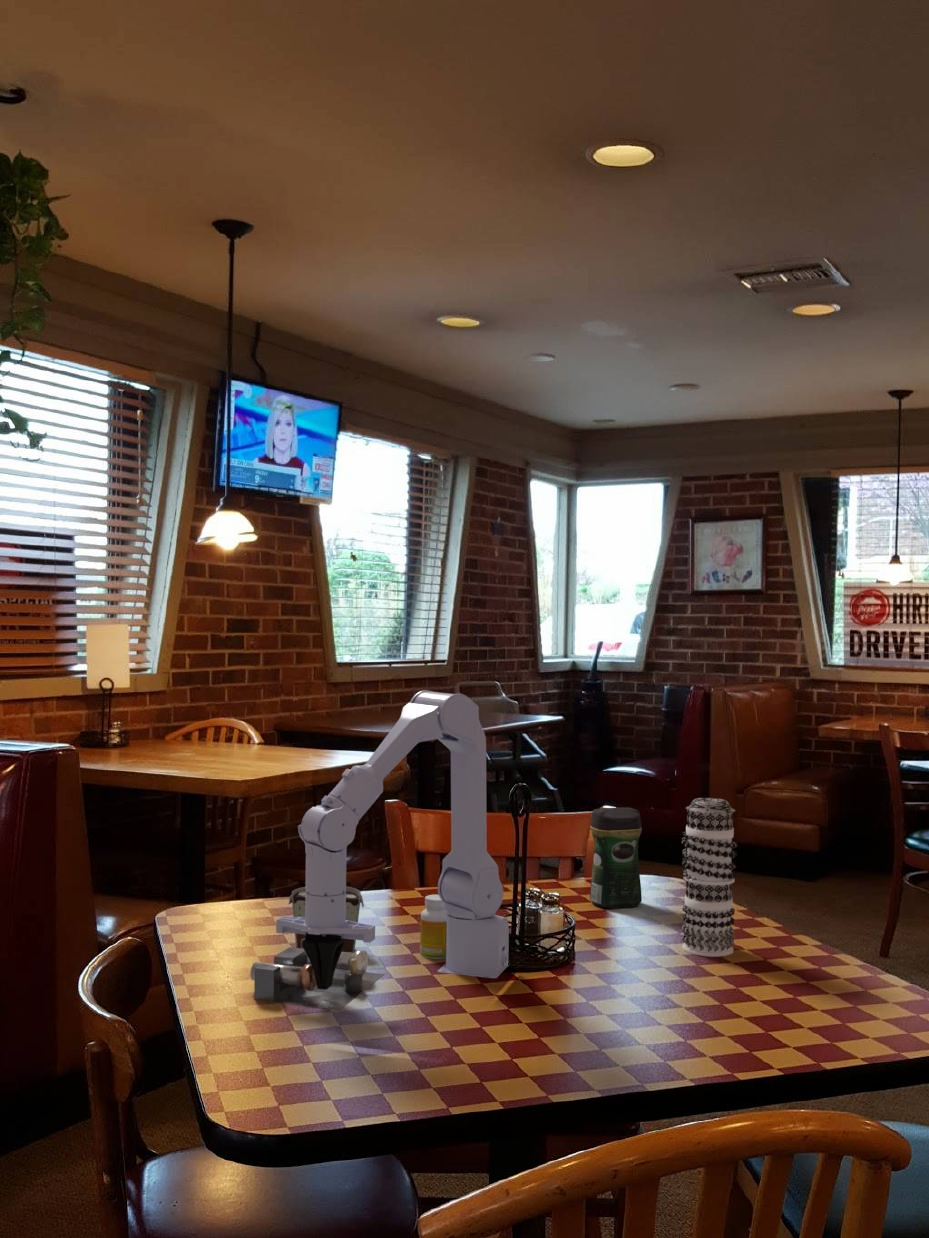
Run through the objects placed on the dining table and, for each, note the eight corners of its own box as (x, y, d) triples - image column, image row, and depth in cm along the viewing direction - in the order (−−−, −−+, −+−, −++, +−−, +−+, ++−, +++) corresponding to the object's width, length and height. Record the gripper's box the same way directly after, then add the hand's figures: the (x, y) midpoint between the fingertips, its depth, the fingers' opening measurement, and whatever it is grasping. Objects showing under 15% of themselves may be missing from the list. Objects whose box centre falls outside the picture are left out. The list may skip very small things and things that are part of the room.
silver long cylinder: (367, 971, 175) (368, 947, 175) (358, 978, 171) (358, 954, 171) (311, 965, 178) (312, 941, 178) (301, 972, 174) (302, 948, 174)
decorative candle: (668, 948, 195) (670, 798, 195) (702, 938, 201) (704, 793, 201) (713, 960, 188) (715, 806, 188) (746, 950, 194) (749, 800, 194)
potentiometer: (364, 988, 170) (365, 958, 170) (358, 993, 167) (358, 963, 167) (348, 986, 170) (348, 956, 170) (341, 991, 168) (341, 961, 168)
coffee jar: (629, 897, 229) (631, 803, 229) (646, 907, 222) (648, 810, 222) (583, 900, 227) (585, 805, 227) (599, 910, 219) (601, 812, 219)
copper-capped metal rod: (317, 986, 167) (318, 961, 167) (307, 994, 164) (307, 968, 164) (260, 979, 170) (260, 955, 170) (248, 987, 167) (249, 962, 167)
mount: (384, 978, 176) (384, 945, 176) (339, 1014, 160) (339, 977, 160) (305, 968, 180) (306, 936, 180) (254, 1003, 164) (254, 968, 164)
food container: (369, 945, 194) (370, 885, 193) (362, 956, 187) (363, 894, 187) (296, 942, 195) (297, 882, 195) (287, 953, 189) (288, 891, 189)
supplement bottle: (449, 963, 184) (450, 902, 184) (416, 960, 186) (417, 899, 185) (456, 953, 190) (457, 894, 190) (424, 951, 191) (425, 892, 191)
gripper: (266, 893, 164) (265, 989, 164) (362, 902, 159) (360, 1001, 159) (289, 882, 170) (287, 975, 170) (381, 891, 166) (380, 986, 166)
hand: (324, 987), depth 165 cm, fingers closed
